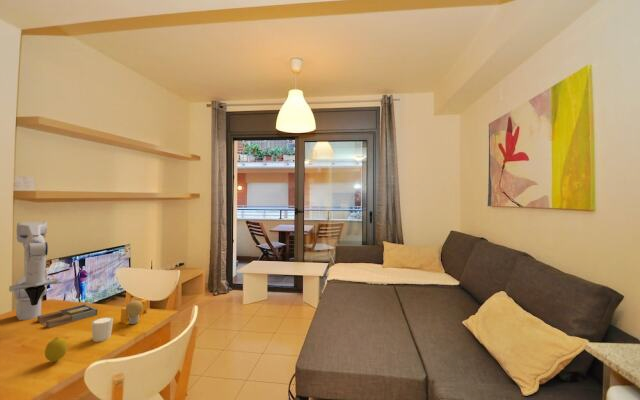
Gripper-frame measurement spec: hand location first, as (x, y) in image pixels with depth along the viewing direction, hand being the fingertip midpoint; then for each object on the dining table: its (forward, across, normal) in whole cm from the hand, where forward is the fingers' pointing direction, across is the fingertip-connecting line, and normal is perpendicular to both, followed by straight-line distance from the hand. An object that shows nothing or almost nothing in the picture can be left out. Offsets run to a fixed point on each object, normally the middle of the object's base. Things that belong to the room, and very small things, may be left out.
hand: (34, 304), depth 118 cm
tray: (+9, +15, 0) cm, 18 cm away
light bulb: (+10, +25, -28) cm, 39 cm away
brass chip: (+9, +13, 0) cm, 16 cm away
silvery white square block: (+9, +17, 0) cm, 19 cm away
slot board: (+10, +11, 0) cm, 15 cm away
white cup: (+10, +11, -32) cm, 35 cm away
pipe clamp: (+10, +28, -21) cm, 36 cm away
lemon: (+10, -5, -38) cm, 39 cm away
